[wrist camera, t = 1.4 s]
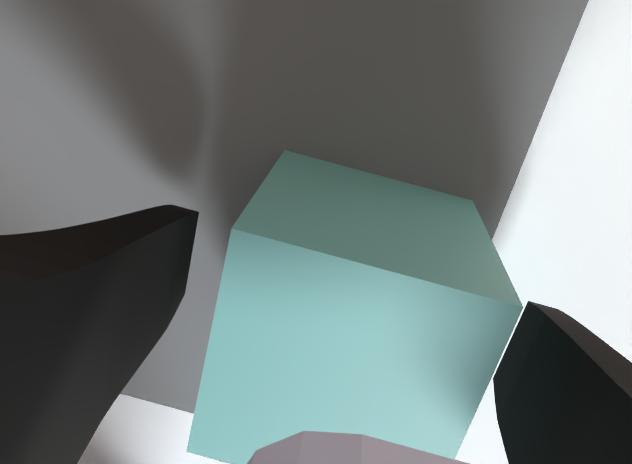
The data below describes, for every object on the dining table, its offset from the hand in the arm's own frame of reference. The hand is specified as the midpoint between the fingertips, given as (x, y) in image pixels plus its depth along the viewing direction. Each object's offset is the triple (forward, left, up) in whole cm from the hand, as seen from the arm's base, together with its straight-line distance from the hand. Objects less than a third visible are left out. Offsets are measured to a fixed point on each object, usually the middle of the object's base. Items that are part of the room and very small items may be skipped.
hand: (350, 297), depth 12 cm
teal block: (0, 0, -2) cm, 2 cm away
